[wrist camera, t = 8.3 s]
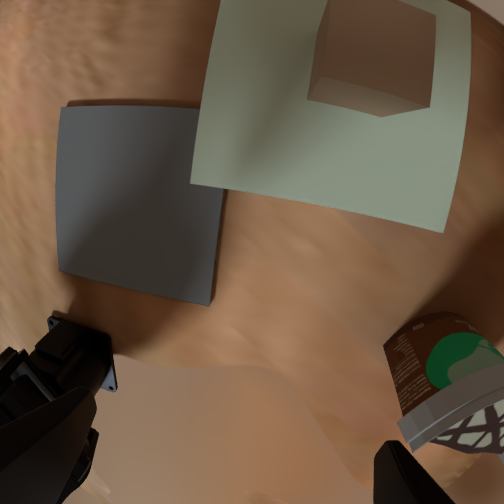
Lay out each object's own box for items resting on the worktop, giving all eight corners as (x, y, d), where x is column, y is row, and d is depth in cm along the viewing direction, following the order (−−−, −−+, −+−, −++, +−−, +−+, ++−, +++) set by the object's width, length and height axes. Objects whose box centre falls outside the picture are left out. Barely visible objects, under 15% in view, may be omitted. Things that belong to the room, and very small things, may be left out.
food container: (506, 330, 20) (566, 402, 10) (463, 383, 22) (506, 464, 12) (419, 268, 19) (499, 359, 9) (367, 338, 21) (405, 451, 11)
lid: (435, 228, 13) (497, 272, 8) (195, 181, 13) (146, 205, 8) (462, 16, 9) (522, -16, 4) (236, -42, 9) (214, -108, 4)
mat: (210, 302, 21) (209, 306, 20) (63, 268, 21) (59, 271, 21) (235, 113, 17) (234, 112, 16) (65, 107, 17) (61, 107, 17)
